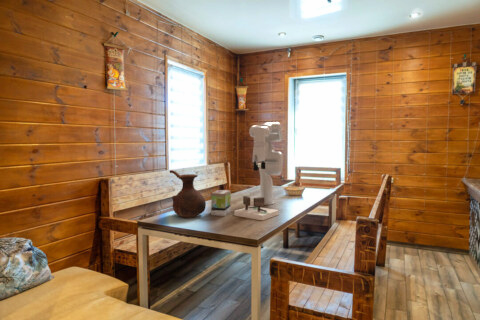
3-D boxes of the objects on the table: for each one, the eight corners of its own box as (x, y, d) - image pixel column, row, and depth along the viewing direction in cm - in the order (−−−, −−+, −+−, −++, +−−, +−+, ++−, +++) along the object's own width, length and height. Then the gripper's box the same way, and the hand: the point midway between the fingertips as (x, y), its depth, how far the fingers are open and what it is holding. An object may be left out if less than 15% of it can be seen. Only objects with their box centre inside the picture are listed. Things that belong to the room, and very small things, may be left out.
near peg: (253, 210, 204) (253, 198, 204) (262, 209, 208) (262, 197, 207) (261, 213, 197) (261, 200, 196) (270, 212, 200) (270, 199, 200)
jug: (187, 210, 221) (186, 167, 219) (212, 214, 210) (211, 169, 208) (164, 217, 202) (163, 170, 200) (191, 221, 191) (190, 172, 189)
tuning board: (251, 210, 221) (251, 205, 221) (278, 214, 207) (278, 209, 207) (234, 215, 206) (234, 210, 206) (262, 220, 192) (262, 215, 192)
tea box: (225, 216, 204) (225, 193, 203) (210, 215, 206) (210, 193, 205) (231, 211, 219) (230, 189, 218) (217, 210, 221) (216, 189, 220)
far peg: (247, 210, 205) (247, 197, 205) (243, 208, 212) (243, 196, 211) (259, 209, 209) (259, 197, 208) (255, 207, 215) (255, 195, 214)
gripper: (261, 144, 224) (261, 168, 226) (247, 145, 210) (248, 170, 212) (270, 144, 220) (270, 168, 222) (257, 145, 206) (257, 171, 208)
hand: (259, 169), depth 217 cm, fingers open, 9 cm apart
